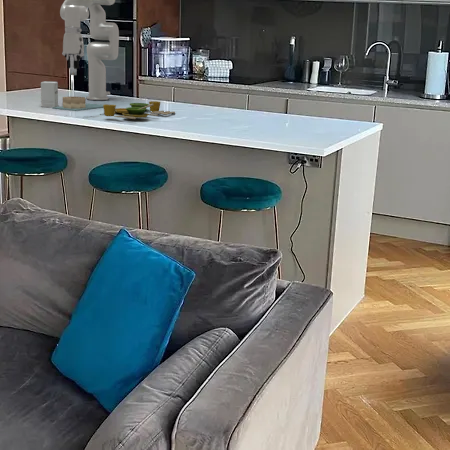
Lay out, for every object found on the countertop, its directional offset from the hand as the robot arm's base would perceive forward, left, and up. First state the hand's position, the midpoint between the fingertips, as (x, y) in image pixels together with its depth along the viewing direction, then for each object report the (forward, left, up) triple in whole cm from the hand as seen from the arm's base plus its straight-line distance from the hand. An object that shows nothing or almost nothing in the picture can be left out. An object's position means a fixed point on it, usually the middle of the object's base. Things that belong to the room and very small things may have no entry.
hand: (73, 68), depth 371 cm
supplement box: (+1, -15, -21) cm, 25 cm away
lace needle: (0, 0, -3) cm, 3 cm away
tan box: (0, 0, -20) cm, 20 cm away
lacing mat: (-7, 0, -20) cm, 22 cm away
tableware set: (-6, +33, -21) cm, 40 cm away
